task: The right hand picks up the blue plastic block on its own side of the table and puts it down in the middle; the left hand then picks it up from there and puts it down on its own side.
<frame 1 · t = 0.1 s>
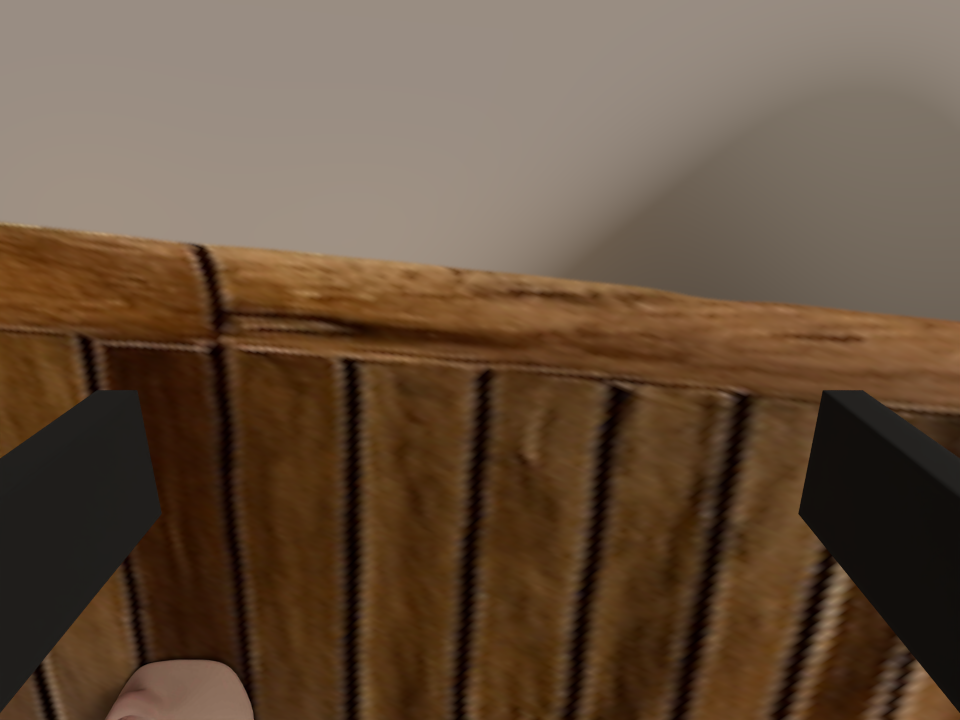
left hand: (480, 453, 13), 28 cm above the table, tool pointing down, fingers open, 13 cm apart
anatomical model: (181, 714, 52), on the table
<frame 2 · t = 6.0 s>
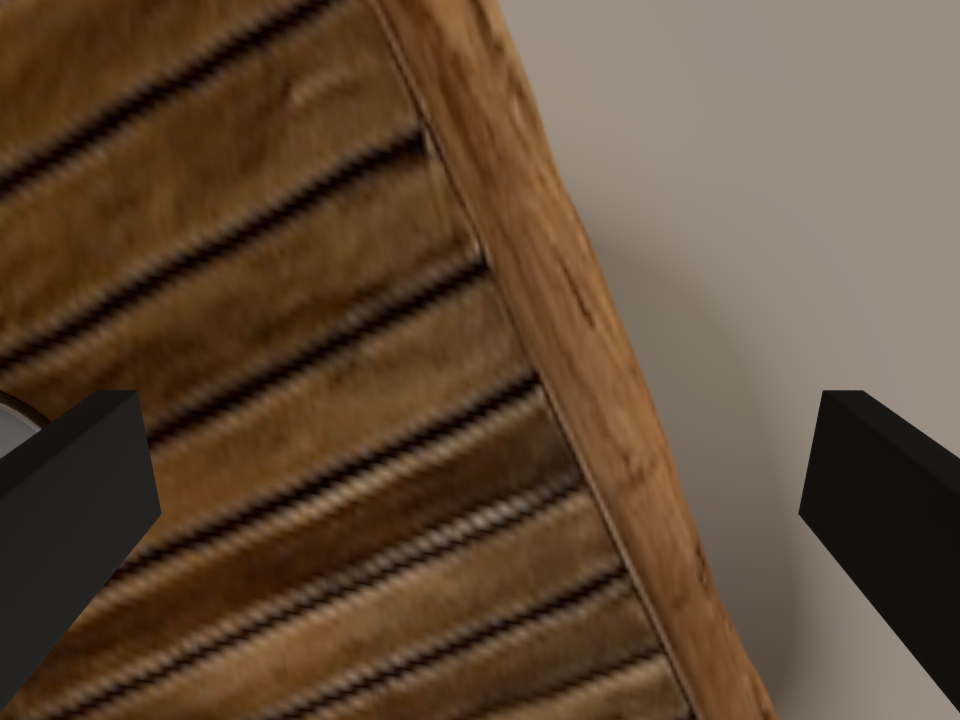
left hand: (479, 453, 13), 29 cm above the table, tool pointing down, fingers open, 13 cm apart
when the right hand's fingers open (3 cm above the table, at t = 15.7 s): block drops 1 cm, on the table.
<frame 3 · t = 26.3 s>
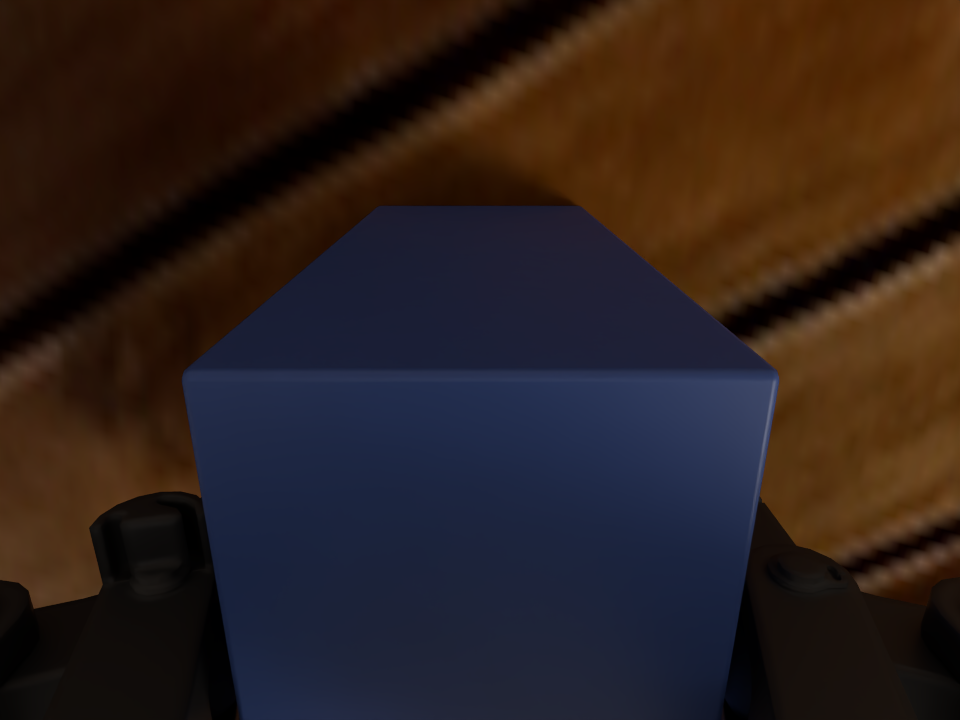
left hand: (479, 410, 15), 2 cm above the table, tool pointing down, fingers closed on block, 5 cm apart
block: (479, 373, 16), on the table, touching left hand
when the left hand's fingers open (4 cm above the table, at t = 36.6 s): block drops 2 cm, on the table.
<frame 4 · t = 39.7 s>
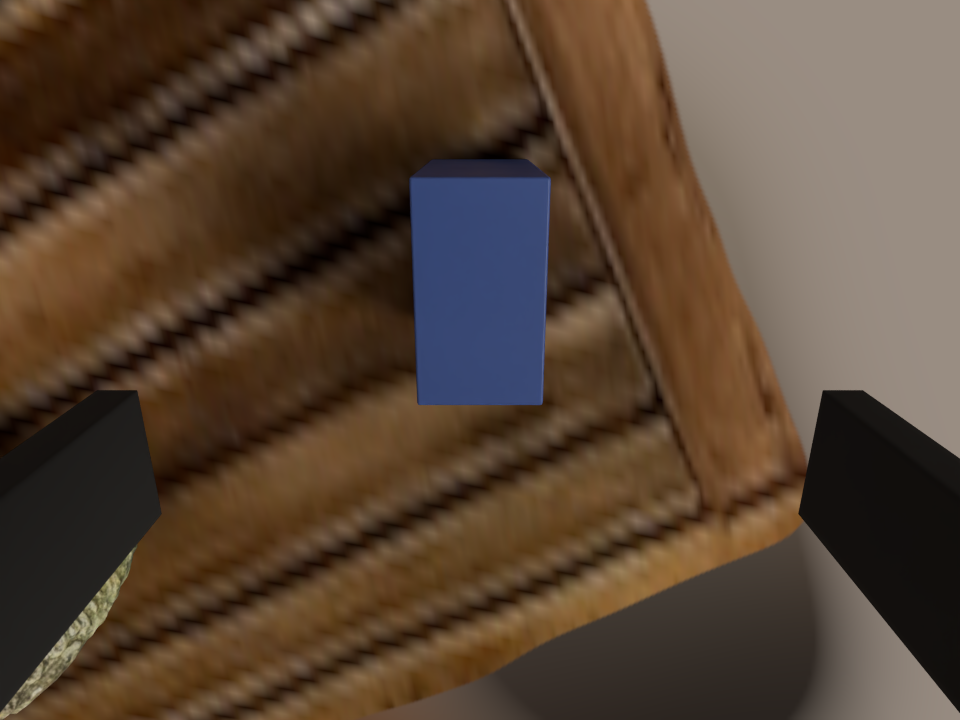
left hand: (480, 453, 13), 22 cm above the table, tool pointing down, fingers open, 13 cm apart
block: (479, 245, 33), on the table
fossil: (29, 512, 38), on the table
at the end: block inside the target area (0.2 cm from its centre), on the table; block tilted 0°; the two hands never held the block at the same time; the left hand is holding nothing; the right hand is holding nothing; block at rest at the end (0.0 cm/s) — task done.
